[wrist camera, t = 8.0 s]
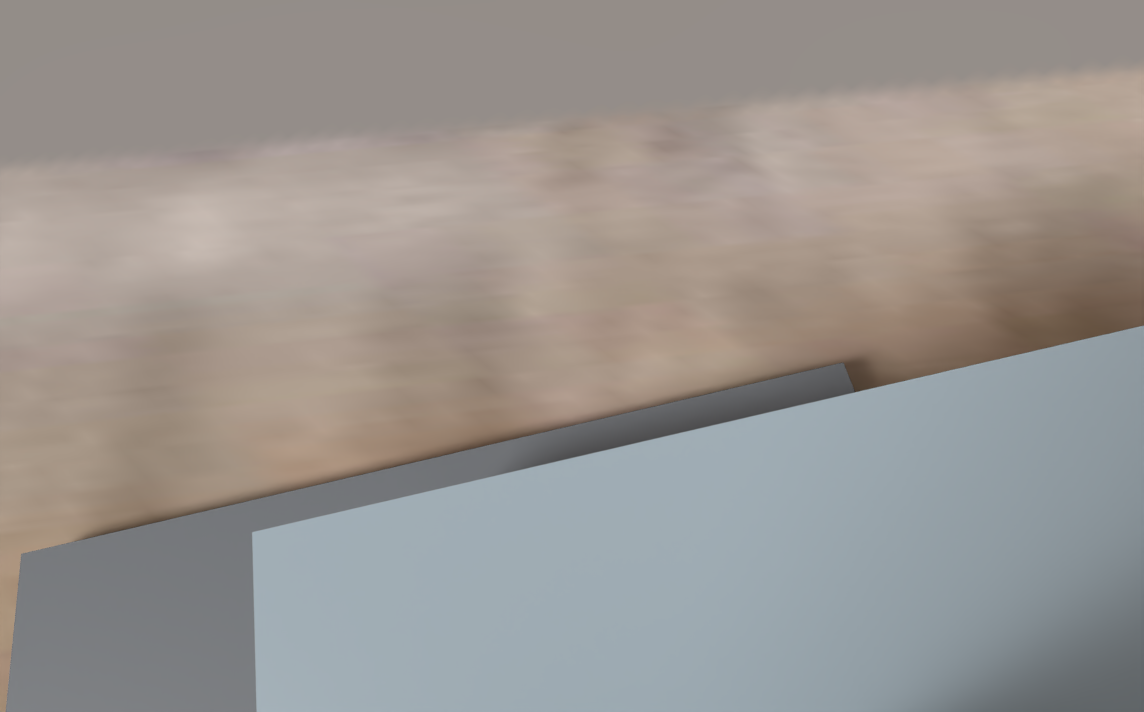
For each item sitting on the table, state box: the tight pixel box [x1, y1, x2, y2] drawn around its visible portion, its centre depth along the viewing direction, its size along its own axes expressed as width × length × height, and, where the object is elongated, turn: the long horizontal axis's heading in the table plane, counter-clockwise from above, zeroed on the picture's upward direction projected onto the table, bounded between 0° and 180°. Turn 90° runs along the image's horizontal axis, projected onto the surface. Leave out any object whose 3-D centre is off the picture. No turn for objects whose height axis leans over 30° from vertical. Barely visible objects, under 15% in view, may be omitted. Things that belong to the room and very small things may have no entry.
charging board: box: [6, 363, 855, 712], centre depth 15 cm, size 22×12×1 cm, turn 102°
